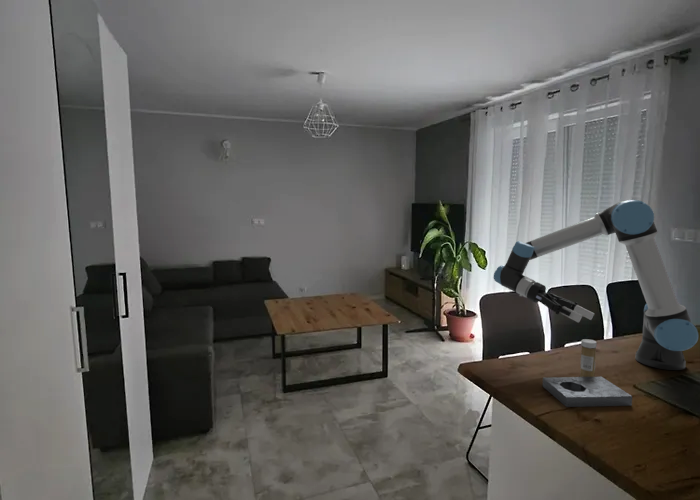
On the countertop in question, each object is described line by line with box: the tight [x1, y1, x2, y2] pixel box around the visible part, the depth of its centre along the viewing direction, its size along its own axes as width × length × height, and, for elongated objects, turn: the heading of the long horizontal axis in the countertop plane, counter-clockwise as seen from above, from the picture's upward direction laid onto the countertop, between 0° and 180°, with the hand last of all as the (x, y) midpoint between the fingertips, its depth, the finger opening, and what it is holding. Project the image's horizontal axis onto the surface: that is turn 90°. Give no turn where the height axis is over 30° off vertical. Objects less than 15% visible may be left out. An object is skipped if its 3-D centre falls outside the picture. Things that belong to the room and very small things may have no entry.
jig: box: [542, 376, 633, 408], centre depth 125 cm, size 20×14×3 cm
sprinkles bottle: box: [579, 338, 598, 377], centre depth 137 cm, size 5×5×13 cm
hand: (586, 318), depth 139 cm, fingers open, 13 cm apart
